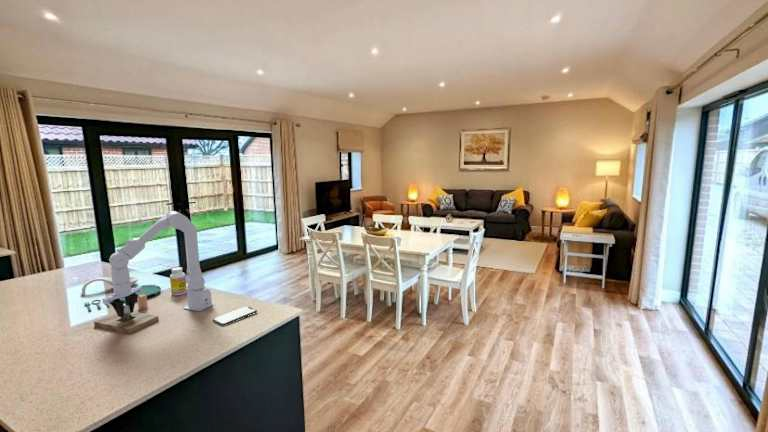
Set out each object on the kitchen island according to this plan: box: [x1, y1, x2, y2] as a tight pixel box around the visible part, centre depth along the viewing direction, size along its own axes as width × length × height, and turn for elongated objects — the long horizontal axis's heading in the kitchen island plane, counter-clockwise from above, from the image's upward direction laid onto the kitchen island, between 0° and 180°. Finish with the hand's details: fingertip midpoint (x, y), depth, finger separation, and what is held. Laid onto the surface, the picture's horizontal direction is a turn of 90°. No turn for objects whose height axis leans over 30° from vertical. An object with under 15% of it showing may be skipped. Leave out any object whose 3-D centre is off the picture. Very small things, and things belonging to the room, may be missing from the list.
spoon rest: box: [81, 276, 139, 296], centre depth 187 cm, size 24×12×7 cm, turn 130°
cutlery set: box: [84, 284, 162, 313], centre depth 175 cm, size 20×30×2 cm, turn 135°
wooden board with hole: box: [93, 311, 160, 335], centre depth 147 cm, size 20×12×2 cm, turn 71°
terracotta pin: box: [136, 294, 149, 311], centre depth 162 cm, size 4×4×6 cm
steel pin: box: [121, 302, 131, 321], centre depth 147 cm, size 4×4×6 cm
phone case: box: [212, 305, 258, 326], centre depth 152 cm, size 9×2×16 cm
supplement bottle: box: [169, 266, 187, 297], centre depth 179 cm, size 7×7×13 cm
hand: (125, 314), depth 147 cm, fingers closed on steel pin, 3 cm apart
